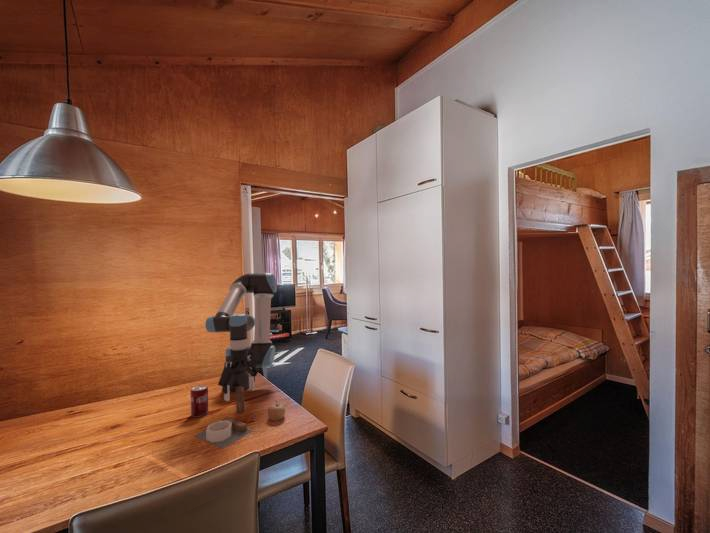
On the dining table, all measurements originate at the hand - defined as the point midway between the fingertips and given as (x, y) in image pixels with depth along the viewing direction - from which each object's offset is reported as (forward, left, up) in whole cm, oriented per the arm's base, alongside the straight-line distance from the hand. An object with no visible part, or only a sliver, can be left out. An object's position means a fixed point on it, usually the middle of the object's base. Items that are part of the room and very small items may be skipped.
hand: (239, 395), depth 144 cm
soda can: (+9, -17, -9) cm, 21 cm away
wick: (+11, +10, -8) cm, 16 cm away
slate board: (+16, +10, -9) cm, 20 cm away
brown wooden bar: (0, 0, -9) cm, 9 cm away
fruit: (-4, +19, -9) cm, 21 cm away
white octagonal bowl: (+18, +10, -8) cm, 22 cm away
